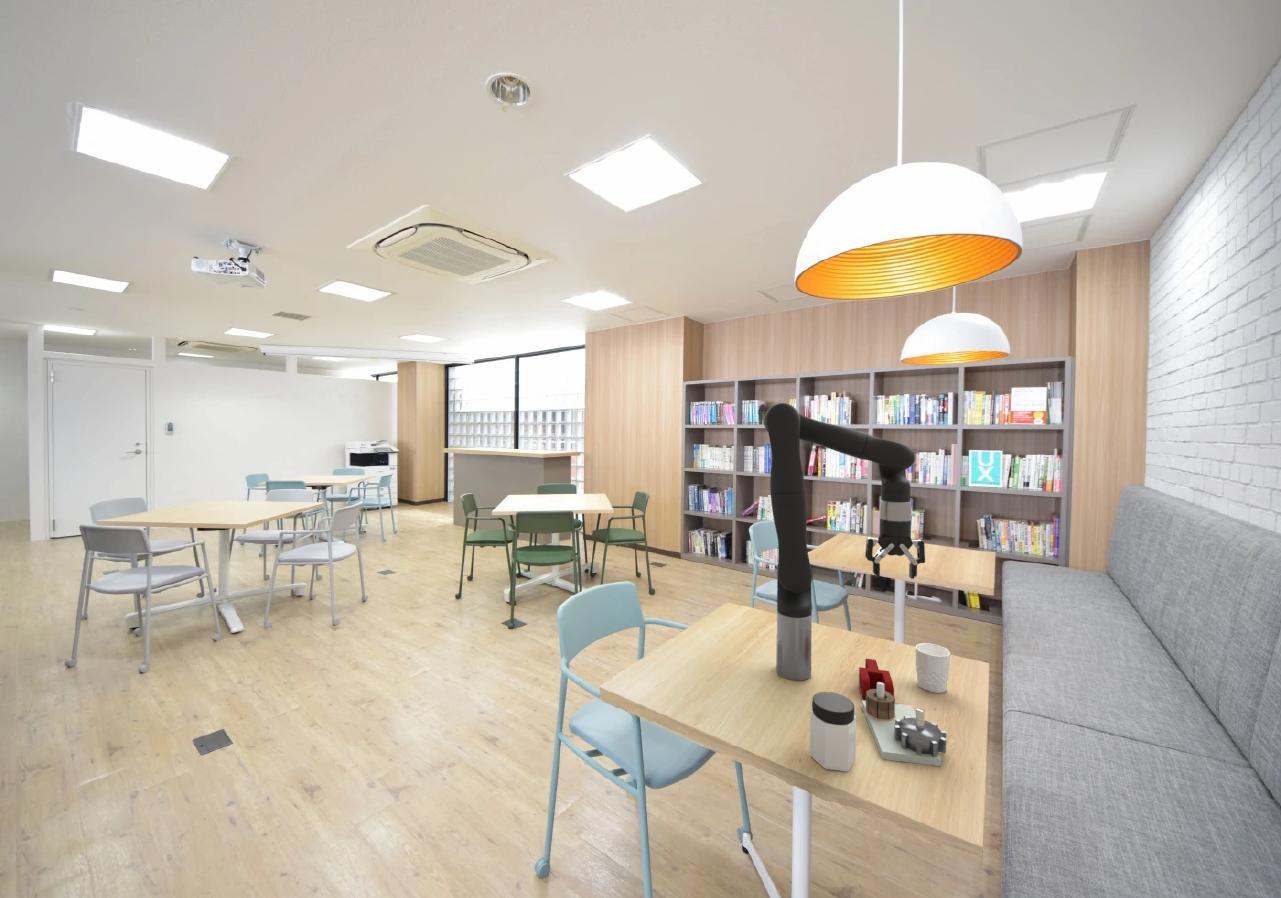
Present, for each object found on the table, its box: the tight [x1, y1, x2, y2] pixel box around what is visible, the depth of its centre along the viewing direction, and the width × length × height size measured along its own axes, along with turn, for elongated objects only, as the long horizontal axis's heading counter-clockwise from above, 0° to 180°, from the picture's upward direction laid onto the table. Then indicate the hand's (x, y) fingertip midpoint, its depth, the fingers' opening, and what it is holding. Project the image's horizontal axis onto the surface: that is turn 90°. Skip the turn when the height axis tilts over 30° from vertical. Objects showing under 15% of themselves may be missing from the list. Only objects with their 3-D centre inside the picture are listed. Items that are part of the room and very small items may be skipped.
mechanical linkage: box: [858, 658, 895, 699], centre depth 132 cm, size 16×7×5 cm, turn 162°
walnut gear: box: [865, 689, 896, 720], centre depth 117 cm, size 6×6×4 cm
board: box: [861, 682, 942, 767], centre depth 112 cm, size 11×20×8 cm, turn 167°
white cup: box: [915, 642, 951, 694], centre depth 132 cm, size 8×8×10 cm
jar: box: [809, 691, 857, 772], centre depth 103 cm, size 9×8×12 cm
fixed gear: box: [894, 707, 947, 757], centre depth 106 cm, size 10×10×7 cm
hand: (894, 577), depth 135 cm, fingers open, 8 cm apart
